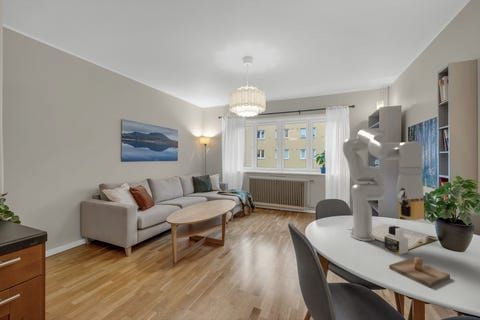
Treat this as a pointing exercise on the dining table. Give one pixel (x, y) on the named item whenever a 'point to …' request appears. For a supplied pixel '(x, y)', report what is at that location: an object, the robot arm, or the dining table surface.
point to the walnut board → (419, 272)
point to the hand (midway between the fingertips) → (410, 214)
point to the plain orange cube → (414, 210)
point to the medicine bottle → (396, 241)
